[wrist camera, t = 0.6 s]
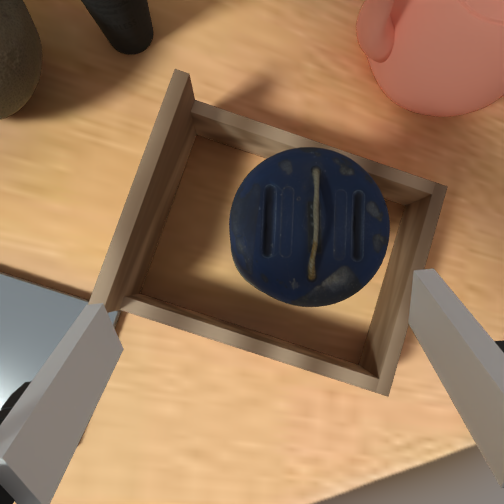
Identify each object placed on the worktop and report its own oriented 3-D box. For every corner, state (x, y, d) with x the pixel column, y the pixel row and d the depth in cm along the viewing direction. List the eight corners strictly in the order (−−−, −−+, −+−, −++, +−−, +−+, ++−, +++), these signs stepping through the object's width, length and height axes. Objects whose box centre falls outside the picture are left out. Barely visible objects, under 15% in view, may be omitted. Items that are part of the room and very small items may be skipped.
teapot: (333, 147, 37) (390, 73, 23) (298, 3, 38) (334, -147, 24) (544, 105, 39) (710, 14, 25) (506, -32, 40) (645, -189, 26)
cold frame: (124, 301, 34) (86, 309, 25) (189, 120, 36) (175, 68, 27) (366, 379, 35) (411, 414, 26) (418, 198, 37) (478, 173, 28)
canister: (332, 219, 36) (429, 162, 18) (307, 305, 35) (383, 334, 17) (246, 192, 36) (259, 106, 18) (219, 278, 35) (203, 279, 17)
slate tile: (-70, 405, 33) (-79, 409, 32) (-14, 267, 34) (-22, 266, 33) (71, 449, 33) (66, 454, 32) (121, 310, 34) (117, 311, 33)
